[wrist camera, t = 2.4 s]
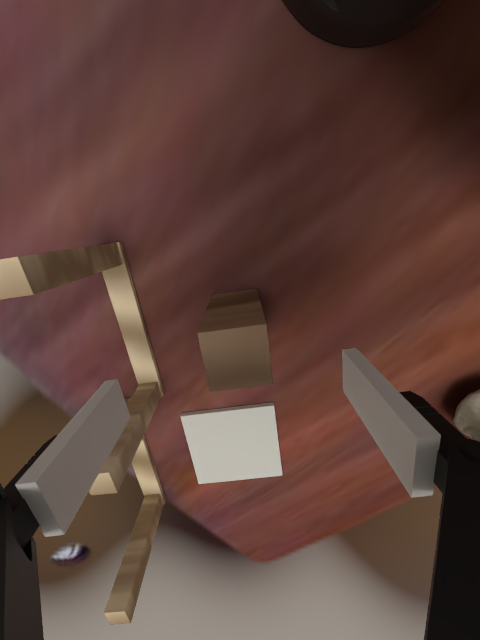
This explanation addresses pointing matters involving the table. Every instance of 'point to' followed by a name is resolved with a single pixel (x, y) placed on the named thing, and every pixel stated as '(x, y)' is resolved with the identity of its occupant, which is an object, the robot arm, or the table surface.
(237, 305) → the walnut block
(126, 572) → the gate
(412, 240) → the table surface
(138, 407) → the gate
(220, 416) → the pad
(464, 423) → the ceramic sculpture
